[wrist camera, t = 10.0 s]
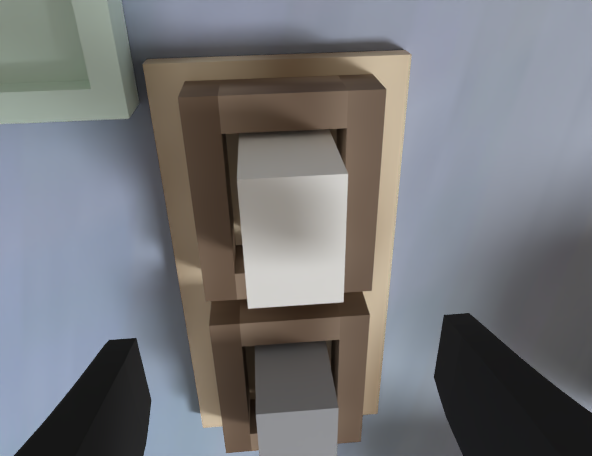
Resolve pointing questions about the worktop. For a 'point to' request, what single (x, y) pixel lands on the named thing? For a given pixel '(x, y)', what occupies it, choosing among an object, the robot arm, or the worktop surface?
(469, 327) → the robot arm
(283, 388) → the grey rectangular block
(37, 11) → the tray
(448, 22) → the worktop surface
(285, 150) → the plug
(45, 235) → the worktop surface
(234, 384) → the wooden holder
